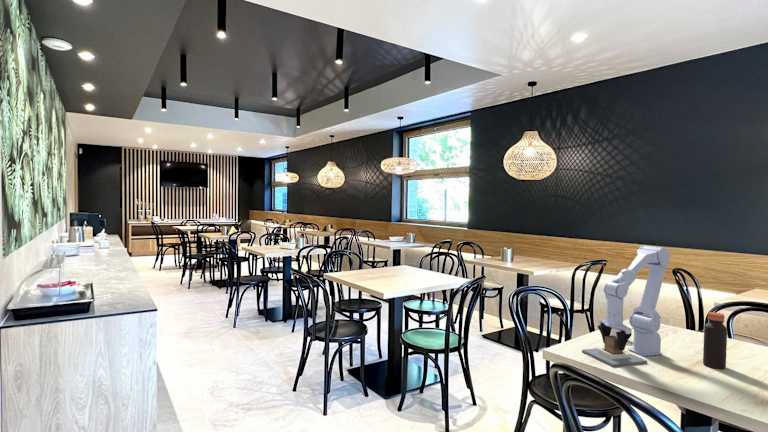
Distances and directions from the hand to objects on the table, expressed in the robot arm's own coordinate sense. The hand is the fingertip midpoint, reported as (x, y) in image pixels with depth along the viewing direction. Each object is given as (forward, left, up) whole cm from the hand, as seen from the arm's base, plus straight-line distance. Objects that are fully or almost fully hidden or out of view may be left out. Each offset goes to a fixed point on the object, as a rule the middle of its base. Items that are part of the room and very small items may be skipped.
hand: (613, 346), depth 164 cm
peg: (0, 0, -3) cm, 3 cm away
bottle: (-31, +16, -5) cm, 35 cm away
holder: (0, 0, -4) cm, 4 cm away
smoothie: (-22, -22, -5) cm, 31 cm away
